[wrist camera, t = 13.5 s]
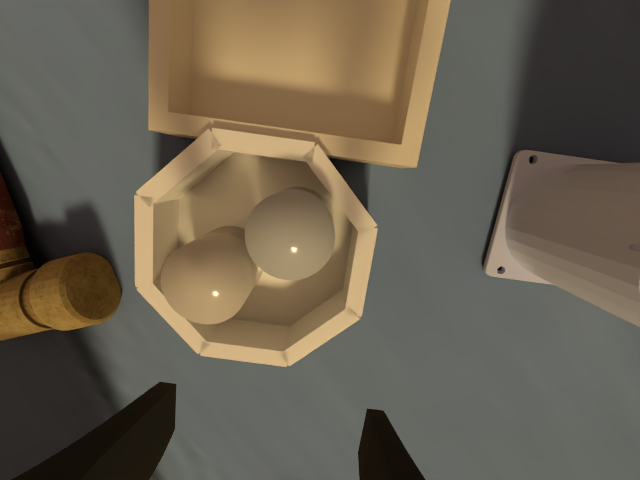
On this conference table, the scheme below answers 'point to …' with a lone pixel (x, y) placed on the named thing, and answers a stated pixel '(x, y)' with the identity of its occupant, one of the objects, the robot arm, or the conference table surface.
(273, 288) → the bowl
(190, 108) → the tray
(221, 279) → the stone
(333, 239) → the stone
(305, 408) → the conference table surface
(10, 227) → the gavel
